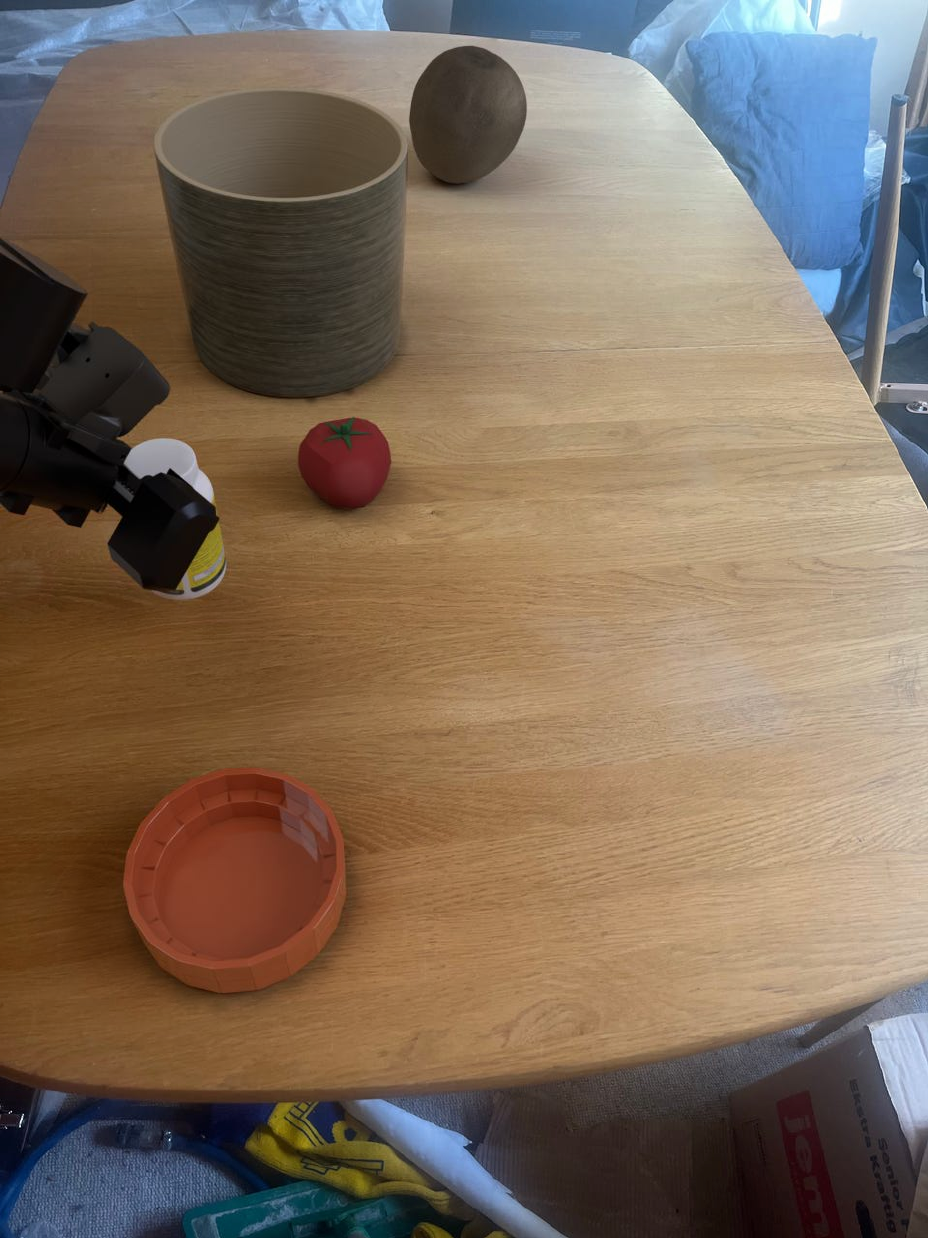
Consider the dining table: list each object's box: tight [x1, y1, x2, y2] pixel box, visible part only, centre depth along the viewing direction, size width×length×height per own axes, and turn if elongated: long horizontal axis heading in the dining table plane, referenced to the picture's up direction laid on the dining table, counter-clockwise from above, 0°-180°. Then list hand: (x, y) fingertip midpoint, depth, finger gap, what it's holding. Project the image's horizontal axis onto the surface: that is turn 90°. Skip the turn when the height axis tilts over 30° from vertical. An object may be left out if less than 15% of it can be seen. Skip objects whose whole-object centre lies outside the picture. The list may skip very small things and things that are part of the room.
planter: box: [152, 86, 409, 398], centre depth 93 cm, size 22×22×20 cm
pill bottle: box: [124, 437, 227, 601], centre depth 68 cm, size 6×6×11 cm
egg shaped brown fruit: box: [408, 45, 528, 184], centre depth 119 cm, size 14×14×15 cm
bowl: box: [122, 766, 347, 994], centre depth 60 cm, size 13×13×4 cm
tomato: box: [297, 416, 392, 510], centre depth 83 cm, size 8×8×7 cm
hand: (187, 499), depth 68 cm, fingers closed on pill bottle, 6 cm apart
